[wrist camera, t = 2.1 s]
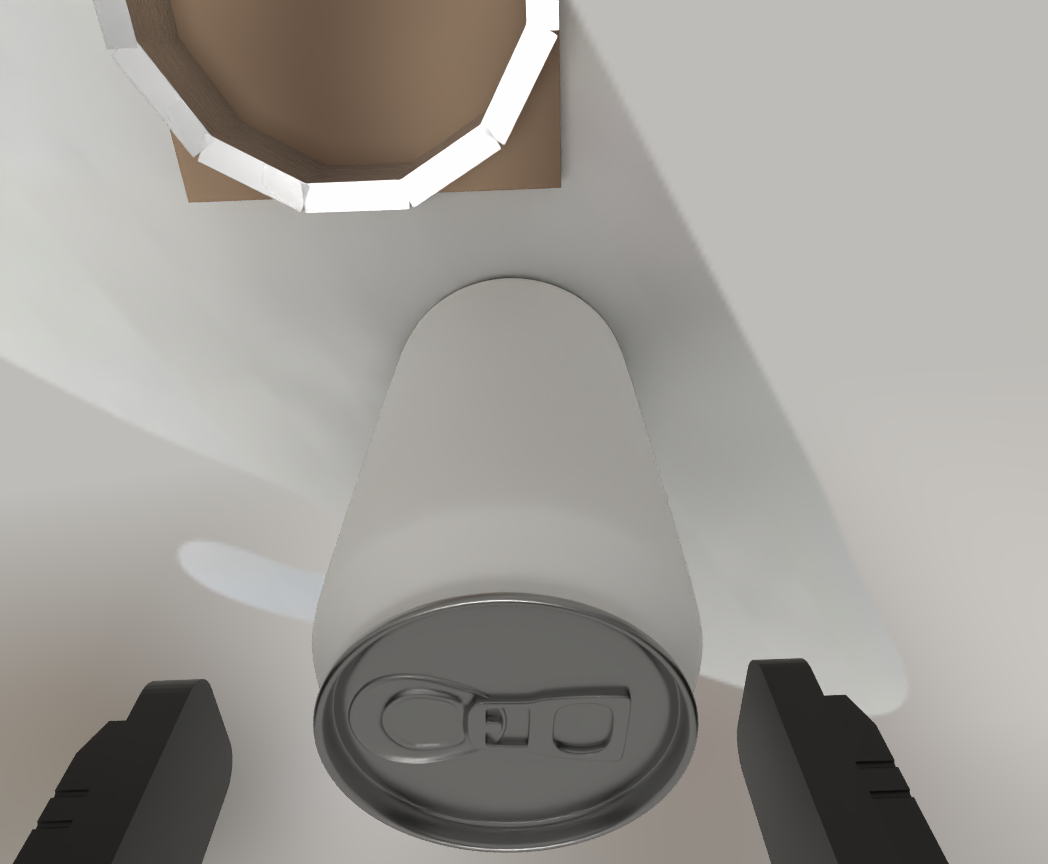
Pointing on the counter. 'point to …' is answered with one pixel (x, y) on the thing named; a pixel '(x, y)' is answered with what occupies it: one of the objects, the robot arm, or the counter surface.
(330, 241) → the counter surface
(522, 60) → the collar
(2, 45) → the counter surface
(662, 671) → the can
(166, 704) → the robot arm
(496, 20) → the board
